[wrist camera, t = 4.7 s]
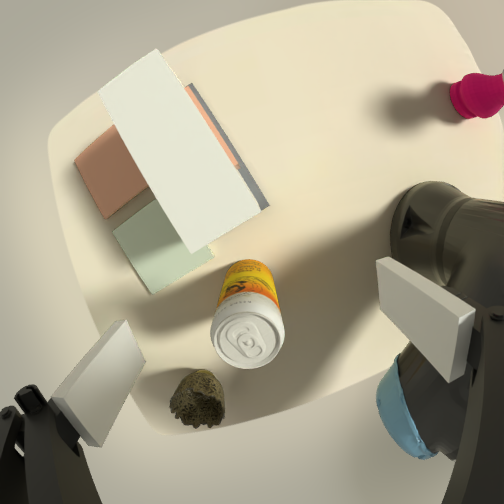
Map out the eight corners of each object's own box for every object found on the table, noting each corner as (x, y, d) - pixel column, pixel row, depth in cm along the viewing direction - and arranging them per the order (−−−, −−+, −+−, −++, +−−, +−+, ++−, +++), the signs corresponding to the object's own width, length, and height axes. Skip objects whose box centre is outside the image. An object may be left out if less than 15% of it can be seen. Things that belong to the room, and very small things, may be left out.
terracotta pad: (164, 175, 32) (162, 174, 32) (107, 218, 34) (104, 219, 33) (129, 115, 31) (127, 113, 30) (77, 160, 32) (74, 160, 31)
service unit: (268, 204, 33) (280, 216, 20) (212, 238, 34) (187, 271, 21) (194, 86, 30) (162, 34, 16) (141, 121, 31) (85, 91, 17)
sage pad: (214, 256, 35) (213, 257, 34) (154, 292, 36) (152, 294, 35) (172, 188, 33) (170, 188, 32) (114, 230, 34) (111, 231, 33)
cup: (224, 356, 38) (219, 391, 30) (232, 392, 40) (229, 428, 32) (175, 358, 38) (162, 392, 31) (187, 394, 40) (177, 428, 32)
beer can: (256, 248, 35) (260, 293, 20) (281, 287, 36) (299, 352, 21) (216, 273, 35) (193, 330, 21) (241, 310, 36) (236, 382, 22)
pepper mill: (449, 114, 30) (545, 91, 10) (444, 74, 28) (529, 38, 9) (478, 127, 30) (567, 116, 10) (473, 89, 28) (555, 65, 9)
